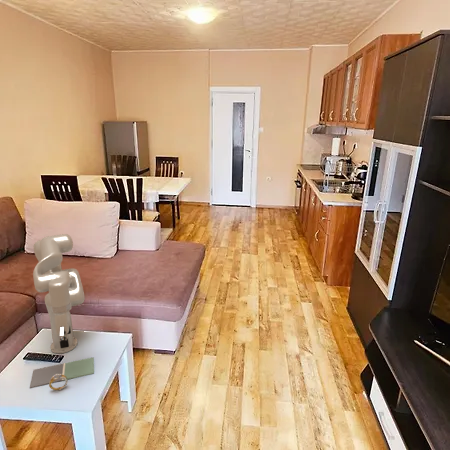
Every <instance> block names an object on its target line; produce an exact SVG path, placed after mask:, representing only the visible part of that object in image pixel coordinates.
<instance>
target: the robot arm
mask: <svg viewBox="0 0 450 450" xmlns="http://www.w3.org/2000/svg"><path fill="white" fill-rule="evenodd" d="M73 248H74V242H73V238H72V236H70V235H69V234H67V233H64V234H63V233H62V234H56V235H48V236H46V237H45V236H44V237H42V239H40V240H37V241H35V242H34V243H33V252H34V255H35V258H36V259H37V261H38V262H37V264H36V265H35V267H34V269H33V273H32V276H33V284H34V289H35V290H36V292H38V293H46V292H48V293H46V294H45V296H44V303H45V306H46V310H47V313H48V317H49V323H50V330H51V331H50V332H51V337H52V343H51V344H50V347H49V348H50V351H51V352H52V353H53V354H56V355H57V354H58V355H59V354H66V353H69V352H71V351H72V350H74V349H75V348H77V346H78V339H77V338H76V337H75V336H74V331H73V330H74V329H73V321H72V315H71V312H70V310H72V307H76V306H79V305H82V304H83V303H84V302H85V293H84V292H85V291H84V287H83V284H82V280H81V276H80V272H79V270H78V269H76V268H73V267H71V268H66V269H63V268H62V262H63V259H64V258H63V253H69V252H72V250H73Z"/></svg>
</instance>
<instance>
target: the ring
mask: <svg viewBox="0 0 450 450" xmlns="http://www.w3.org/2000/svg"><path fill="white" fill-rule="evenodd" d="M53 378H54V379H53ZM60 378H63V379H64V381H65V383H64V384H63V386H59V387H55V386H53V385H52V384H53V383H52V382H53V381H55V380H57V379H60ZM67 385H68V379H67V377H66V376H64V375H62V374H56V375H54V376H53V377H52V378H51V380H50V383H49V384H48V387H49V388H50V389H51V390H53V391H59V392H60V391H62V390H63V389H65V388H66V387H67Z"/></svg>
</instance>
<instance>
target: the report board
mask: <svg viewBox="0 0 450 450" xmlns="http://www.w3.org/2000/svg"><path fill="white" fill-rule="evenodd" d="M56 374H62V375H64V376H66V377H67V379H68V380H73V379H77V378H81V377H85V376H90V375H94V374H95V357H87V358H83V359H78V360H75V361H74V360H73V361H69V362H63V363H60V364H55V365H50V366H45V367H41V368H36V369H33V371H32V374H31V379H30V383H29V389H33V388H38V387H43V386H45V385H46V386H47V385H49V383H50V380H51V378H52V377H53V376H54V375H56ZM53 379H54V378H53ZM64 381H65V380H64V379H63V378H60V379H57V380H55V381H53V382H52V383H51V384H56V383H59V382H64Z"/></svg>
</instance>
